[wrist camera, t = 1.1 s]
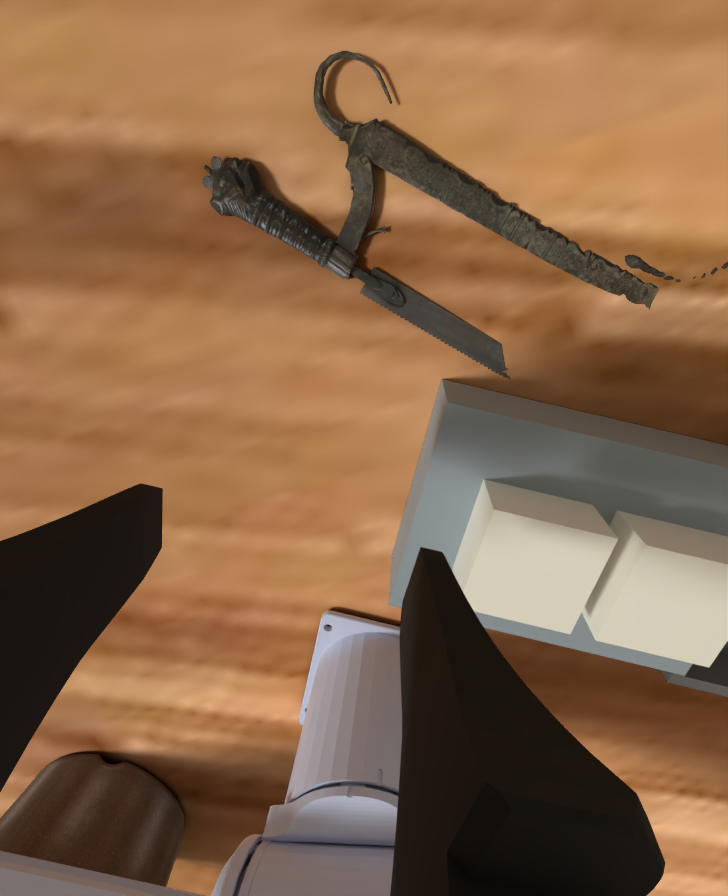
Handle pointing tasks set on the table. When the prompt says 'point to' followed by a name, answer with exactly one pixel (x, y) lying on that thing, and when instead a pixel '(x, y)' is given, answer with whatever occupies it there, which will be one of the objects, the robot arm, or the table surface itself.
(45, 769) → the plant pot
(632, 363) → the table surface
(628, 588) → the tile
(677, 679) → the box
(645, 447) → the gray rectangular block
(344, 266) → the hacksaw
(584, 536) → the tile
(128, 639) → the table surface
